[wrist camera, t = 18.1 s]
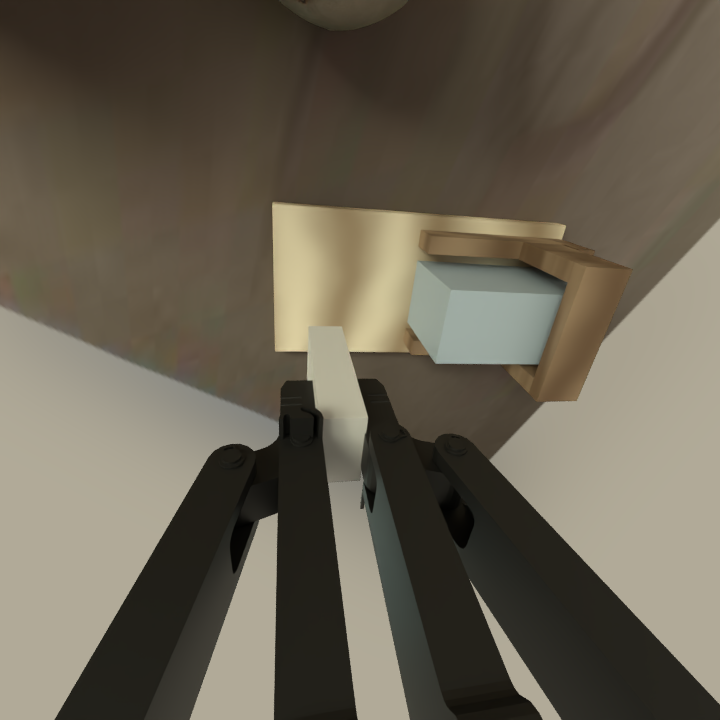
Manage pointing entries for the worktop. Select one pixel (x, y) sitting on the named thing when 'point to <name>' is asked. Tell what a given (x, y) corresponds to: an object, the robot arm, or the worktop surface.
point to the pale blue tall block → (483, 312)
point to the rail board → (397, 272)
